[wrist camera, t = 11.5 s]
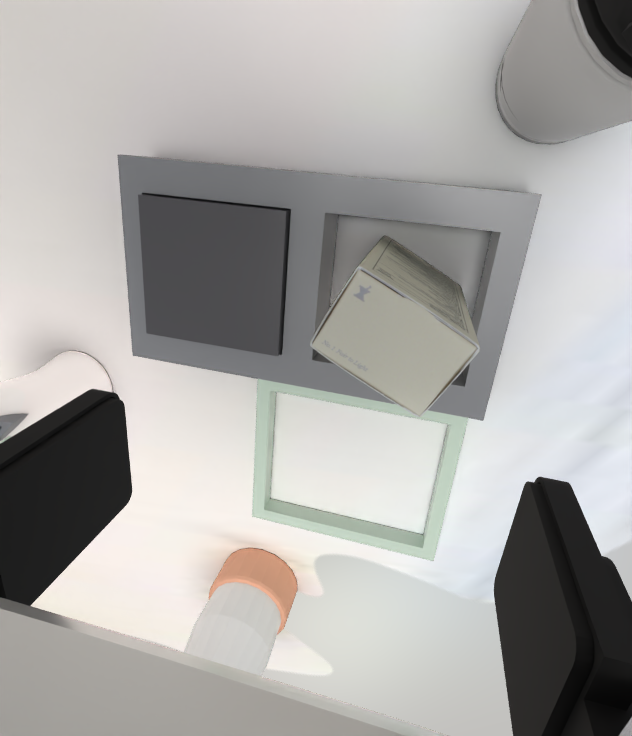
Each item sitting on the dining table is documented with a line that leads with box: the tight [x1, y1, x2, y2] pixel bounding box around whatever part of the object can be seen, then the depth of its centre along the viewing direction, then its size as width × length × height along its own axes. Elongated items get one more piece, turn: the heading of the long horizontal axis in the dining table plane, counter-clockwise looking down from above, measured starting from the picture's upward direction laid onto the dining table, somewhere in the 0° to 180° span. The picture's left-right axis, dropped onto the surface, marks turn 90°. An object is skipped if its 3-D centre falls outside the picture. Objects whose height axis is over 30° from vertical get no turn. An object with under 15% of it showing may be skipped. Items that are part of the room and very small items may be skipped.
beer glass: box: [0, 351, 113, 444], centre depth 34 cm, size 7×7×15 cm
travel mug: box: [496, 0, 632, 144], centre depth 16 cm, size 6×7×20 cm
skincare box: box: [310, 235, 480, 417], centre depth 25 cm, size 6×4×12 cm
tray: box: [252, 379, 468, 561], centre depth 36 cm, size 13×15×2 cm
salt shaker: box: [184, 548, 297, 676], centre depth 35 cm, size 7×7×19 cm
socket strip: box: [118, 155, 542, 421], centre depth 30 cm, size 13×24×5 cm, turn 85°
